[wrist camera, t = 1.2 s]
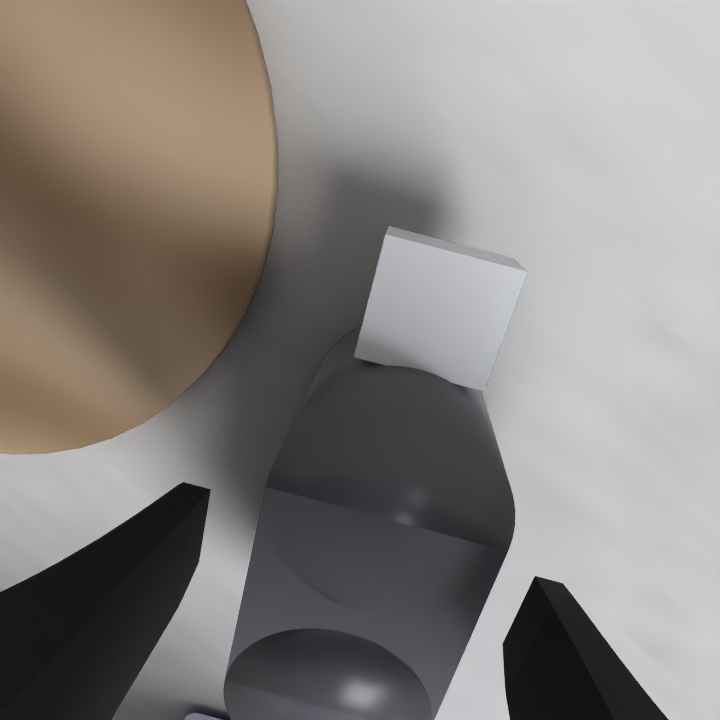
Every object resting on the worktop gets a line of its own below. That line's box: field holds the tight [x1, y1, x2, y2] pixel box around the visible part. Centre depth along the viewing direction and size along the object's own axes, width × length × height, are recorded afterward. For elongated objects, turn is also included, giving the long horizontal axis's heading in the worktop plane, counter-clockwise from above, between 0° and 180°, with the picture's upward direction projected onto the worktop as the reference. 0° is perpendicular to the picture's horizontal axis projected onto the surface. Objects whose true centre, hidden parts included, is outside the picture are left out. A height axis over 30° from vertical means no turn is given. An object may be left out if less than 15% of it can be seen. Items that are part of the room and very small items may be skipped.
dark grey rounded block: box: [224, 226, 527, 720], centre depth 12 cm, size 12×4×5 cm, turn 166°
